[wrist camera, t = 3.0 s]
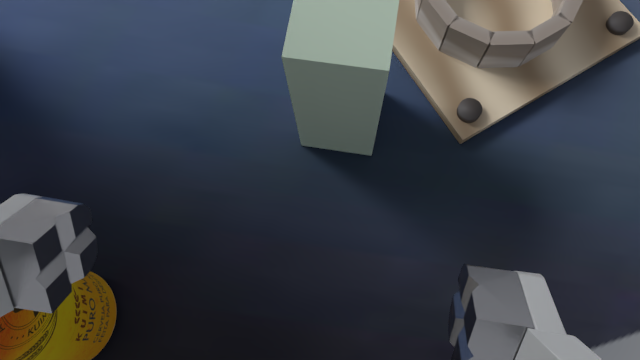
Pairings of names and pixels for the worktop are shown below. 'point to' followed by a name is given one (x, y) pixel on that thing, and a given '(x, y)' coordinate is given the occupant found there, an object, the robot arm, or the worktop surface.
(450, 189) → the worktop surface
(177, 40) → the worktop surface
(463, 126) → the bolt socket plate
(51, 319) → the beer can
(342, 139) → the green peg
